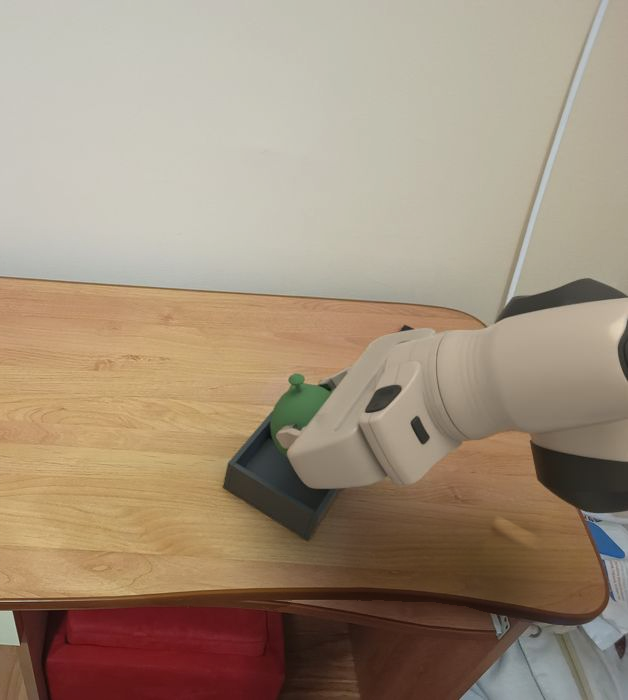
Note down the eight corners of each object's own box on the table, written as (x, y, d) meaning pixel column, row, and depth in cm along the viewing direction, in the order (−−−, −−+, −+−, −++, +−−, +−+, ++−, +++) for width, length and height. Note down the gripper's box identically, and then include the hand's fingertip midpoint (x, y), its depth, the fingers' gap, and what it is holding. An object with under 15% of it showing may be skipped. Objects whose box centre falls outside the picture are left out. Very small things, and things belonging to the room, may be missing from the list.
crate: (347, 481, 71) (357, 457, 68) (308, 541, 65) (318, 518, 62) (265, 435, 76) (272, 410, 73) (222, 487, 70) (227, 462, 67)
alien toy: (338, 436, 68) (364, 369, 61) (321, 488, 62) (348, 420, 56) (276, 412, 70) (295, 345, 63) (254, 461, 64) (273, 393, 58)
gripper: (454, 300, 58) (332, 334, 68) (366, 431, 45) (233, 448, 56) (483, 356, 59) (358, 381, 69) (405, 500, 46) (267, 504, 57)
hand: (301, 412), depth 63 cm, fingers closed on alien toy, 7 cm apart
